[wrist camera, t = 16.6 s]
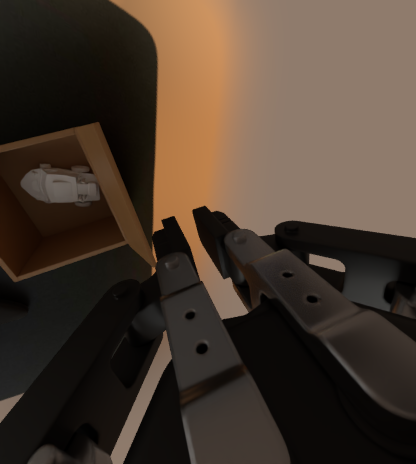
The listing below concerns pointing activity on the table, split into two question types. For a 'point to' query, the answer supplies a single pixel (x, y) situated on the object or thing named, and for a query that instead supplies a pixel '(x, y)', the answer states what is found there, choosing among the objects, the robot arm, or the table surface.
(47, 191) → the toy car
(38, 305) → the table surface
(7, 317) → the game controller
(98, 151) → the flap
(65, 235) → the brown open box
